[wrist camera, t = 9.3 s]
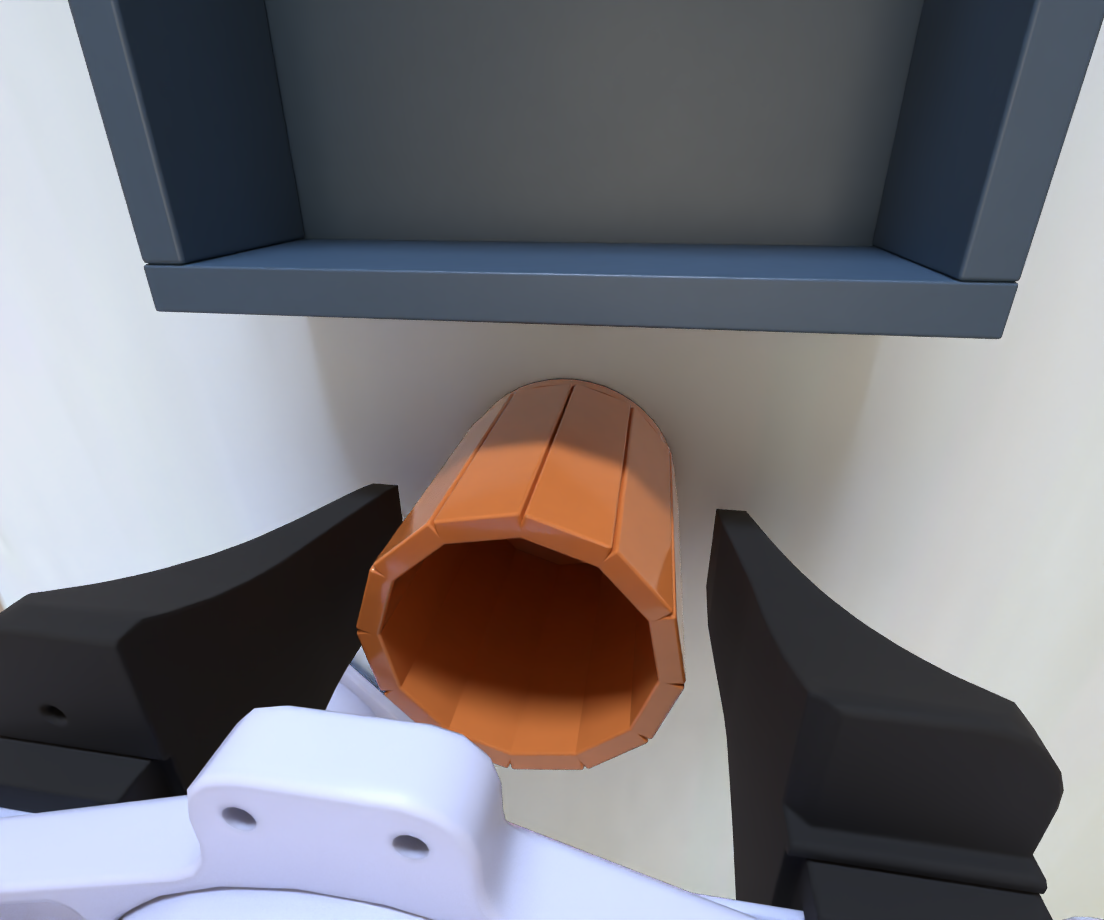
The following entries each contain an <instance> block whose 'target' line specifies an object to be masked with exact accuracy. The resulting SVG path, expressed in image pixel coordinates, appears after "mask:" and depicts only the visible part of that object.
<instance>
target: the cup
mask: <svg viewBox="0 0 1104 920" xmlns="http://www.w3.org/2000/svg"><path fill="white" fill-rule="evenodd" d="M356 628H357V629H358V631H357V636H358V638H359V640H360V643H361V645H362V648H363V650H364V652H365V655H366V657H367V660H368V662H369V664H370V667H371V669H372V672H373V674H374V677H375V679H376V681H377V684H378V686H379V689H380V690H381V691H385V692H384V695H385V697H387V698H388V699H389V700H390V701H391V702H392V703H393V704H395V705H396V706H397V707H398V708H399V709H400V710H401V711H402V712H404V713H405V714H406V715H407V716H408V717H409V718H410V719H412V720H413V721H414V722H417V723H425V724H432V725H435V726H438V727H441V728H444V729H447V730H451V731H454V732H457V733H460V734H463V735H464V736H465V737H467V738H468V739H469V740H470V741H472V742H473V743H474V744H475V745H477V746H478V747H479V748H480V749H482V750H483V751H484V752H485V753H486V754H487V755H488V756H489V757H490V758H491V760H492V763H494V764H497V765H500V766H502V767H505V768H508V767H509V765H510V764H511V767H512V769H535V770H582V769H583V768H584V766H585V767H586V768H592V767H594V766H596V765H598V764H601V763H603V762H605V761H607V760H610V759H612V758H614V757H617V756H619V755H621V754H623V753H626V752H628V751H630V750H632V749H635V748H637V747H639V746H641V745H644V744H646V743H647V742H648V739H652V738H653V736H654V735H655V733H656V732H657V730H658V729H659V727H660V725H661V724H662V722H663V721H664V719H665V717H666V716H667V714H668V713H669V711H670V710H671V708H672V706H673V705H674V703H675V702H676V700H677V699H678V697H679V695H680V694H681V692H682V691H683V689H684V683H685V681H686V672H685V649H684V627H683V604H682V581H681V559H680V536H679V514H678V498H677V490H676V482H675V468H674V464H673V459H672V453H671V452H670V449H669V447H668V444H667V442H666V440H665V438H664V436H663V434H662V432H661V431H660V429H659V428H658V427H657V425H656V424H655V423H654V421H653V420H652V419H651V418H650V417H649V416H648V415H647V414H646V413H645V412H644V411H643V410H642V409H641V408H640V407H639V406H637V405H636V404H635V403H634V402H633V401H631V400H630V399H628V398H626V397H625V396H623V395H621V394H620V393H618V392H616V391H613V390H611V389H609V388H607V387H604V386H601V385H598V384H595V383H591V382H586V381H580V380H571V379H555V380H545V381H540V382H536V383H532V384H529V385H526V386H523V387H520V388H518V389H516V390H514V391H512V392H510V393H509V394H507V395H505V396H504V397H503V398H501V399H500V400H498V401H497V402H496V403H495V404H494V405H493V406H492V407H491V408H490V409H489V410H487V412H486V413H485V414H484V416H482V417H481V418H480V419H479V420H478V421H476V422H475V423H474V424H473V425H472V427H471V428H470V429H469V431H468V432H467V434H466V435H465V436H464V438H463V439H462V441H461V442H460V443H459V445H458V446H457V448H456V449H455V450H454V452H453V453H452V455H451V456H450V457H449V459H448V460H447V462H446V463H445V464H444V466H443V467H442V468H441V470H440V471H439V473H438V474H437V475H436V477H435V478H434V480H433V481H432V482H431V484H430V485H429V487H428V488H427V489H426V491H425V492H424V494H423V495H422V496H421V498H420V499H419V501H418V502H417V503H416V505H415V506H414V508H413V509H412V510H411V512H410V513H409V514H408V516H407V517H406V519H405V520H404V521H403V523H402V524H401V526H400V527H399V528H398V530H397V531H396V533H395V534H394V535H393V537H392V538H391V540H390V541H389V542H388V544H387V545H386V547H385V548H384V549H383V551H382V552H381V554H380V555H379V556H378V558H377V559H376V560H375V562H374V564H373V565H372V567H371V568H370V569H369V573H368V578H367V582H366V586H365V590H364V595H363V599H362V603H361V607H360V611H359V616H358V620H357V624H356Z"/></svg>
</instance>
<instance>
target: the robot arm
mask: <svg viewBox="0 0 1104 920" xmlns="http://www.w3.org/2000/svg"><path fill="white" fill-rule="evenodd" d="M402 523H403V521H402V514H401V506H400V498H399V491H398V485H386V484H371V485H368V486H365V487H363V488H360V489H358V490H356V491H354V492H352V493H350V494H347V495H345V496H343V497H341V498H339V499H337V500H335V501H333V502H331V503H329V504H327V505H325V506H323V507H321V508H319V509H317V510H315V511H313V512H311V513H309V514H307V515H305V516H303V517H301V518H299V519H297V520H295V521H293V522H290V523H288V524H286V525H284V526H282V527H280V528H277V529H275V530H273V531H271V532H269V533H266V534H264V535H262V536H260V537H257V538H255V539H252V540H250V541H247V542H245V543H242V544H240V545H237V546H234V547H231V548H229V549H226V550H223V551H220V552H218V553H215V554H212V555H209V556H205V557H202V558H199V559H195V560H192V561H188V562H185V563H181V564H178V565H175V566H171V567H168V568H164V569H161V570H157V571H152V572H148V573H144V574H140V575H136V576H131V577H126V578H121V579H117V580H112V581H107V582H102V583H96V584H91V585H84V586H78V587H71V588H65V589H58V590H52V591H45V592H38V593H30V594H28V595H26V596H24V597H23V598H21V599H20V600H18V601H17V602H15V603H14V604H12V605H11V606H10V607H8V608H7V609H5V610H4V611H2V612H1V613H0V920H1053V919H1052V917H1051V915H1050V914H1049V912H1048V910H1047V908H1046V906H1045V904H1044V902H1043V900H1042V898H1041V896H1040V894H1044V893H1045V891H1046V889H1047V883H1046V879H1045V877H1044V875H1043V873H1042V871H1041V869H1040V868H1039V866H1038V864H1037V862H1036V860H1035V858H1034V856H1033V853H1034V851H1035V849H1036V848H1037V846H1038V844H1039V842H1040V840H1041V839H1042V837H1043V835H1044V833H1045V831H1046V829H1047V828H1048V826H1049V824H1050V822H1051V820H1052V818H1053V817H1054V815H1055V813H1056V811H1057V809H1058V807H1059V804H1060V800H1061V797H1062V794H1063V791H1064V790H1063V782H1062V775H1061V771H1060V770H1059V768H1058V766H1057V765H1056V763H1055V762H1054V760H1053V759H1052V757H1051V755H1050V754H1049V752H1048V751H1047V749H1046V747H1045V746H1044V744H1043V742H1042V741H1041V739H1040V738H1039V736H1038V734H1037V733H1036V731H1035V730H1034V728H1033V727H1032V725H1031V724H1030V723H1029V721H1028V720H1027V719H1026V717H1025V716H1024V714H1023V713H1022V712H1021V710H1020V709H1019V708H1018V707H1017V705H1016V704H1015V702H1012V701H1010V700H1008V699H1006V698H1003V697H1001V696H999V695H997V694H994V693H992V692H990V691H988V690H985V689H983V688H981V687H979V686H976V685H974V684H972V683H970V682H967V681H965V680H963V679H960V678H958V677H956V676H954V675H952V674H950V673H948V672H946V671H944V670H942V669H940V668H938V667H936V666H935V665H933V664H931V663H929V662H927V661H925V660H923V659H921V658H919V657H917V656H916V655H914V654H912V653H910V652H909V651H907V650H905V649H904V648H902V647H900V646H898V645H897V644H895V643H893V642H892V641H890V640H889V639H887V638H886V637H884V636H882V635H881V634H879V633H878V632H876V631H875V630H873V629H871V628H870V627H868V626H867V625H865V624H864V623H863V622H861V621H860V620H858V619H857V618H855V617H854V616H853V615H851V614H850V613H849V612H848V611H846V610H845V609H844V608H842V607H841V606H840V605H838V604H837V603H836V602H834V601H833V600H832V599H831V598H829V597H828V596H827V595H826V594H825V593H823V592H822V591H821V590H820V589H819V588H818V587H817V586H816V585H814V584H813V583H812V582H811V581H810V580H809V579H808V578H807V577H806V576H805V575H804V574H802V573H801V572H800V571H799V570H798V569H797V568H796V567H795V566H794V565H793V564H792V563H791V562H790V561H789V560H788V559H787V558H786V556H785V555H784V554H783V553H782V552H781V551H780V550H779V549H778V548H777V547H776V546H775V545H774V543H773V542H772V541H771V540H770V539H769V538H768V536H767V535H766V534H765V533H764V532H763V531H762V529H761V528H760V527H759V526H758V525H757V524H756V522H755V521H754V520H753V519H752V518H751V517H750V515H749V514H748V513H747V512H746V511H736V510H723V509H716V516H715V524H714V531H713V539H712V547H711V555H710V562H709V570H708V578H707V585H706V590H707V614H708V628H709V634H710V640H711V646H712V652H713V657H714V663H715V669H716V674H717V680H718V685H719V691H720V696H721V702H722V707H723V713H724V720H725V727H726V735H727V748H728V762H729V776H730V792H731V809H732V825H733V845H734V866H735V886H736V900H733V899H727V898H721V897H714V896H708V895H702V894H696V893H691V892H688V891H686V890H683V889H681V888H678V887H675V886H673V885H670V884H668V883H665V882H663V881H660V880H657V879H655V878H652V877H650V876H647V875H644V874H642V873H639V872H637V871H634V870H632V869H629V868H626V867H624V866H621V865H619V864H616V863H614V862H611V861H608V860H606V859H603V858H601V857H598V856H596V855H593V854H590V853H588V852H585V851H583V850H580V849H577V848H575V847H572V846H570V845H567V844H565V843H562V842H559V841H557V840H554V839H552V838H549V837H547V836H544V835H541V834H539V833H536V832H534V831H531V830H529V829H526V828H523V827H521V826H518V825H516V824H513V823H510V822H508V821H506V819H505V815H504V811H503V802H502V786H501V781H500V779H499V776H498V774H497V772H496V769H495V767H494V765H493V763H492V760H491V758H490V757H489V756H488V755H487V754H486V753H485V752H484V751H483V750H482V749H480V748H479V747H478V746H477V745H475V744H474V743H473V742H472V741H470V740H469V739H468V738H467V737H465V736H464V735H463V734H460V733H457V732H454V731H451V730H447V729H444V728H441V727H438V726H435V725H432V724H425V723H417V722H414V721H413V720H412V719H410V718H409V717H408V716H407V715H406V714H405V713H404V712H402V711H401V710H400V709H399V708H398V707H397V706H396V705H395V704H393V703H392V702H391V701H390V700H389V699H388V698H387V697H385V695H384V694H382V693H381V692H380V691H379V690H378V689H377V688H376V687H374V686H373V685H372V684H371V683H370V682H369V681H368V680H367V679H365V678H364V677H363V676H362V675H361V674H360V673H359V672H357V671H356V670H355V669H354V668H353V667H352V666H351V665H349V664H350V663H351V661H352V659H353V658H354V656H355V655H356V653H357V651H358V650H359V648H360V647H361V643H360V640H359V638H358V636H357V631H358V629H357V628H356V624H357V620H358V616H359V611H360V607H361V603H362V599H363V595H364V590H365V586H366V582H367V578H368V573H369V569H370V568H371V567H372V565H373V564H374V562H375V560H376V559H377V558H378V556H379V555H380V554H381V552H382V551H383V549H384V548H385V547H386V545H387V544H388V542H389V541H390V540H391V538H392V537H393V535H394V534H395V533H396V531H397V530H398V528H399V527H400V526H401V524H402ZM1039 893H1040V894H1039ZM1064 920H1104V919H1099V918H1093V917H1071V918H1067V919H1064Z"/></svg>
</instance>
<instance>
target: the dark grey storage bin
mask: <svg viewBox="0 0 1104 920" xmlns="http://www.w3.org/2000/svg"><path fill="white" fill-rule="evenodd" d="M68 2H69V6H70V9H71V13H72V16H73V20H74V23H75V27H76V30H77V33H78V37H79V40H80V44H81V47H82V51H83V54H84V58H85V61H86V65H87V68H88V72H89V75H90V79H91V82H92V86H93V89H94V92H95V96H96V99H97V103H98V106H99V110H100V113H101V117H102V120H103V124H104V127H105V131H106V134H107V138H108V141H109V145H110V148H111V151H112V155H113V158H114V162H115V165H116V169H117V172H118V176H119V179H120V183H121V186H122V190H123V193H124V197H125V200H126V204H127V207H128V210H129V214H130V217H131V221H132V224H133V228H134V231H135V235H136V238H137V242H138V245H139V249H140V252H141V256H142V259H143V261H144V262H145V263H148V264H146V265H145V266H144V270H145V273H146V277H147V280H148V284H149V287H150V291H151V294H152V297H153V301H154V304H155V308H156V310H157V311H160V312H191V313H221V314H251V315H282V316H312V317H342V318H372V319H403V320H433V321H463V322H494V323H524V324H554V325H584V326H615V327H645V328H675V329H705V330H736V331H766V332H796V333H827V334H857V335H887V336H917V337H948V338H978V339H999V338H1001V337H1002V334H1003V331H1004V328H1005V325H1006V322H1007V319H1008V316H1009V313H1010V310H1011V306H1012V303H1013V300H1014V297H1015V294H1016V291H1017V288H1018V283H1016V282H1015V281H1018V280H1019V279H1020V277H1021V274H1022V271H1023V268H1024V264H1025V261H1026V258H1027V255H1028V252H1029V249H1030V246H1031V243H1032V240H1033V236H1034V233H1035V230H1036V227H1037V224H1038V221H1039V218H1040V215H1041V212H1042V208H1043V205H1044V202H1045V199H1046V196H1047V193H1048V190H1049V187H1050V184H1051V180H1052V177H1053V174H1054V171H1055V168H1056V165H1057V162H1058V159H1059V155H1060V152H1061V149H1062V146H1063V143H1064V140H1065V137H1066V134H1067V131H1068V127H1069V124H1070V121H1071V118H1072V115H1073V112H1074V109H1075V106H1076V103H1077V99H1078V96H1079V93H1080V90H1081V87H1082V84H1083V81H1084V78H1085V75H1086V71H1087V68H1088V65H1089V62H1090V59H1091V56H1092V53H1093V50H1094V47H1095V43H1096V40H1097V37H1098V34H1099V31H1100V28H1101V25H1102V22H1103V18H1104V0H68Z"/></svg>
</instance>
